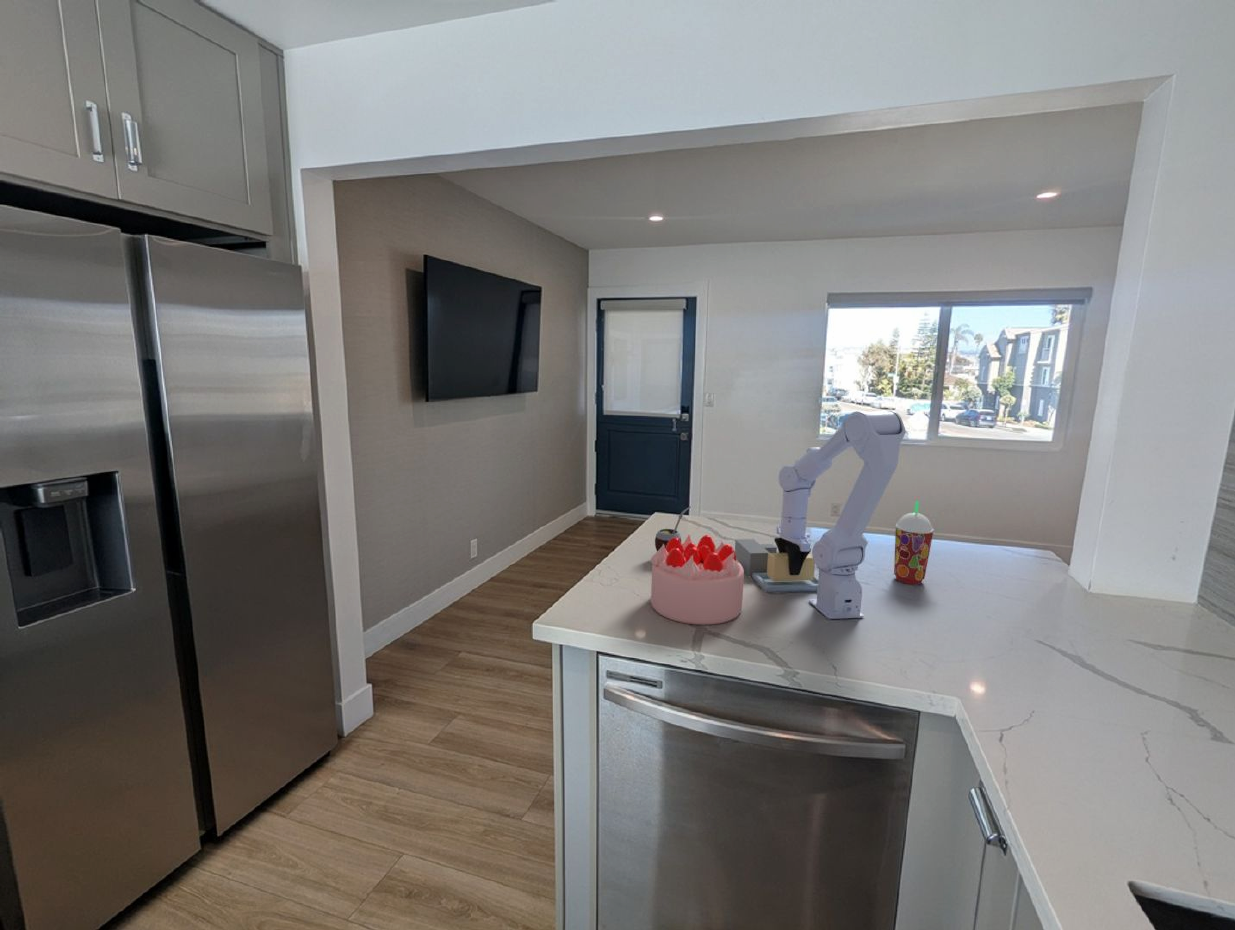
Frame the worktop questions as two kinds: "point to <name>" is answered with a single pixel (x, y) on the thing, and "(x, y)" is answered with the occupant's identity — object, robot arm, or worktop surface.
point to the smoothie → (912, 547)
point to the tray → (785, 584)
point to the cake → (697, 582)
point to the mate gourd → (668, 534)
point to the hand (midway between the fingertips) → (790, 571)
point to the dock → (753, 555)
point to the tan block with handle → (780, 568)
